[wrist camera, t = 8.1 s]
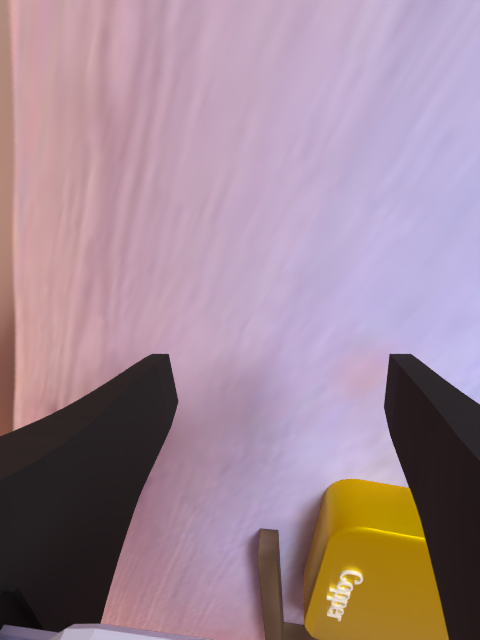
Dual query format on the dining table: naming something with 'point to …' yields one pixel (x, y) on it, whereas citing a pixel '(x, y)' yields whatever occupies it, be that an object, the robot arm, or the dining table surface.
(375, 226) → the dining table surface
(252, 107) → the dining table surface
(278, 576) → the walnut holder
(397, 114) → the dining table surface
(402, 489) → the element tile
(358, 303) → the dining table surface
